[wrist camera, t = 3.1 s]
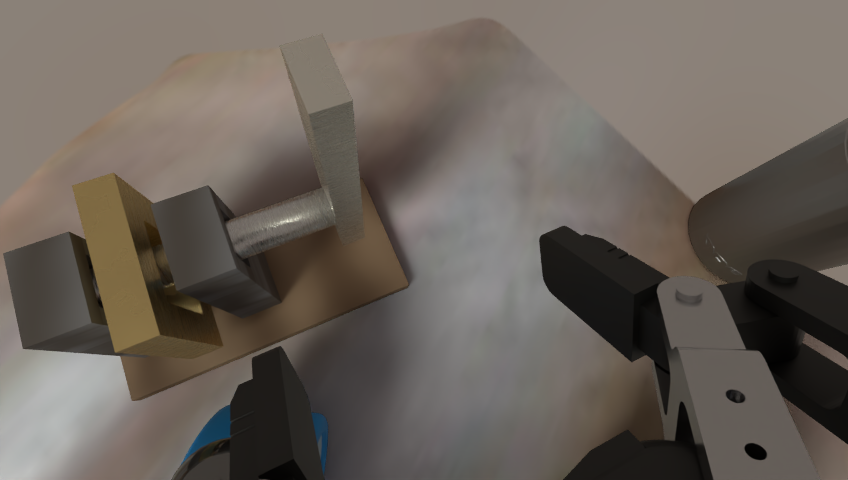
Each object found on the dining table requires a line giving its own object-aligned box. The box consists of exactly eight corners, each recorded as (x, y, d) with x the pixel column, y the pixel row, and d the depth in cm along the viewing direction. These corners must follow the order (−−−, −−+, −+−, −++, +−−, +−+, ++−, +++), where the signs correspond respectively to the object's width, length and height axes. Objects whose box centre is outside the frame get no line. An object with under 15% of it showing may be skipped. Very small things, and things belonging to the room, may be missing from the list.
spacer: (185, 228, 31) (113, 172, 23) (223, 346, 29) (159, 334, 21) (157, 238, 31) (72, 185, 22) (193, 359, 29) (115, 352, 20)
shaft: (349, 200, 31) (322, 33, 16) (364, 237, 30) (352, 100, 15) (81, 298, 27) (-288, 201, 12) (92, 342, 27) (-284, 299, 11)
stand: (362, 183, 38) (355, 96, 26) (408, 287, 36) (423, 244, 24) (107, 274, 34) (-40, 220, 22) (141, 400, 31) (-4, 415, 19)
